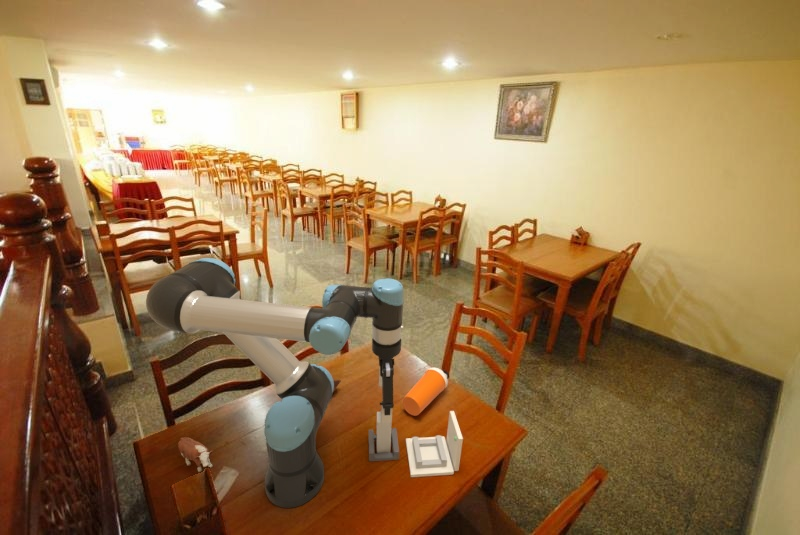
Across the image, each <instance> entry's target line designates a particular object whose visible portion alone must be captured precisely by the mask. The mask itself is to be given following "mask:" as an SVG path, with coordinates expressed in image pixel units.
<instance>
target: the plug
mask: <svg viewBox="0 0 800 535" xmlns="http://www.w3.org/2000/svg"><path fill="white" fill-rule="evenodd" d="M381 415H382V407H381V408H380V411H376V426H375V427H376V431H375V432H376V433H375V434H376V441H375V442H376V443H375V445H376V446H375V448H376V450H375V451H376V454H382V453H391V447H392V440H391V429H392V422H393V421H392V422H388V423H381Z"/></svg>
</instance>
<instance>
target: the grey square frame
mask: <svg viewBox="0 0 800 535" xmlns="http://www.w3.org/2000/svg"><path fill="white" fill-rule="evenodd" d="M397 430H398V429H397V428H396V427H394V428H392V427H391V447H392V452H390V453H382V454H377V453H375V442H376V433H374V432H375V431H374V429H373V428H372V429H368V461H369V462H379V461H383V462H384V461H393V460H395V461H396V460H398V461H399V460H400V447H399V440H398V431H397Z"/></svg>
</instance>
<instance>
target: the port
mask: <svg viewBox="0 0 800 535" xmlns="http://www.w3.org/2000/svg"><path fill="white" fill-rule="evenodd" d="M463 441H464V437H463V434H462V432H461V429H460V426H459V422H458V420H457V416H456V413H455V411H454V410H449V416H448V423H447V432H446V437H445V436H443V435H440V434H438V435H435V436H428V437H426V436H425V437H419V436H412V437H411V438H408V437H407V438H405V446H406V454H407V459H408V465H409V473H410V478H421V477H434V476H436V477H437V476H449V475H454V473H455V472H458V471H460V470H459V468H460V464H461V462H460V460H461V456H462V448H463Z"/></svg>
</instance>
